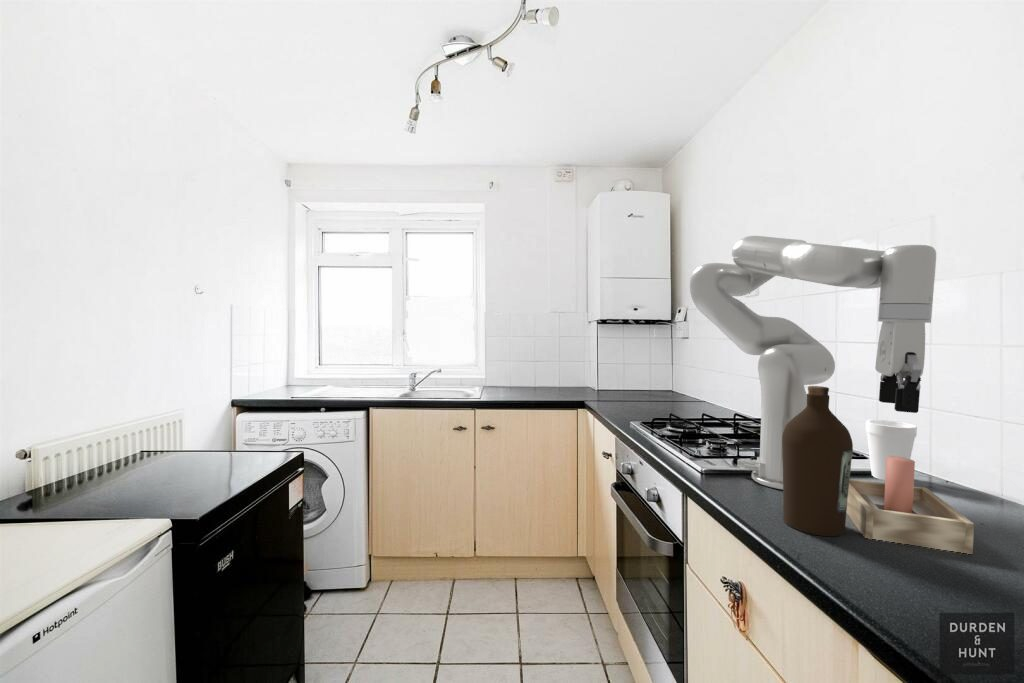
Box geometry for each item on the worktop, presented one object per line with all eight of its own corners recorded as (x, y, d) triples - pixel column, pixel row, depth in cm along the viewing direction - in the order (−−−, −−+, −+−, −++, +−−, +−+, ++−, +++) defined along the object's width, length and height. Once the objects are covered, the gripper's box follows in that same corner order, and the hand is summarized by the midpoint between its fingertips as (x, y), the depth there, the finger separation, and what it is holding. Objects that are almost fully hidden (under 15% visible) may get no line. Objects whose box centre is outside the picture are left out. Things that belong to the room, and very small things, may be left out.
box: (865, 538, 80) (866, 509, 80) (838, 502, 97) (839, 477, 97) (972, 555, 75) (974, 523, 75) (925, 513, 92) (926, 487, 91)
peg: (887, 527, 85) (890, 461, 84) (880, 519, 89) (883, 455, 88) (915, 531, 83) (918, 463, 83) (906, 522, 87) (909, 458, 87)
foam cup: (910, 476, 115) (913, 422, 114) (917, 487, 107) (920, 429, 106) (862, 469, 120) (864, 418, 119) (865, 479, 112) (867, 424, 111)
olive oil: (775, 527, 84) (780, 387, 83) (782, 509, 93) (787, 381, 92) (849, 544, 78) (855, 393, 77) (849, 523, 87) (855, 386, 86)
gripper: (866, 314, 96) (860, 397, 97) (893, 313, 80) (886, 413, 82) (913, 315, 93) (906, 401, 94) (950, 314, 77) (942, 418, 78)
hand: (897, 407), depth 88 cm, fingers open, 9 cm apart
